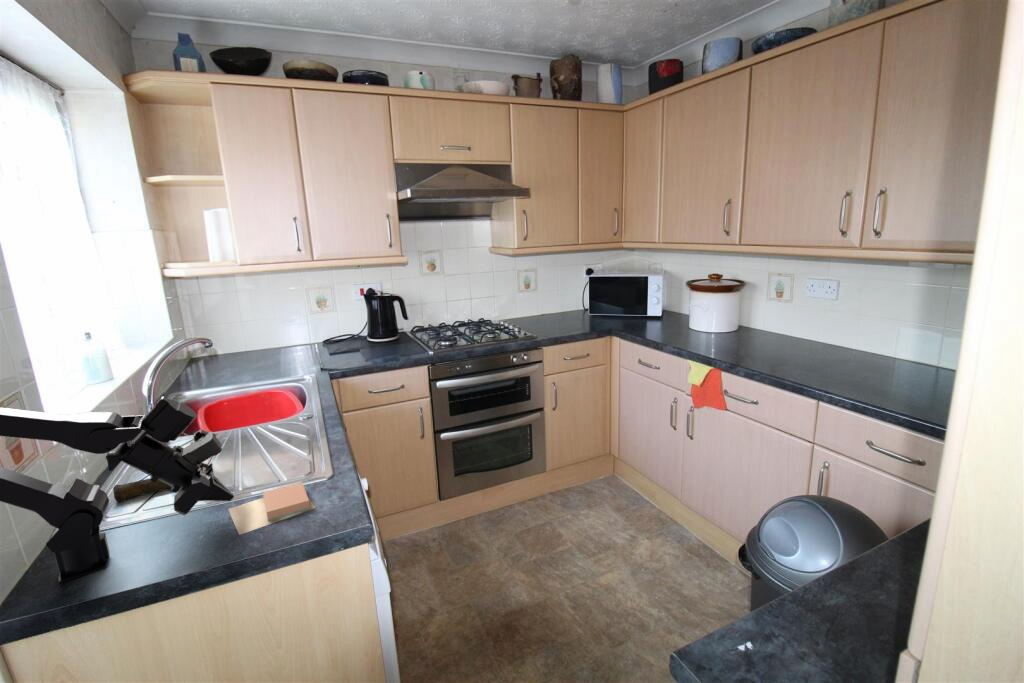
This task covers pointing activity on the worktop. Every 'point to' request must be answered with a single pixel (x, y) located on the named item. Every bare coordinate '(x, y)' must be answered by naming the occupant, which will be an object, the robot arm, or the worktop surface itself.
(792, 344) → the worktop surface
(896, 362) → the worktop surface
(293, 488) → the terracotta tile
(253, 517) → the beech board
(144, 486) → the brown wooden rod
